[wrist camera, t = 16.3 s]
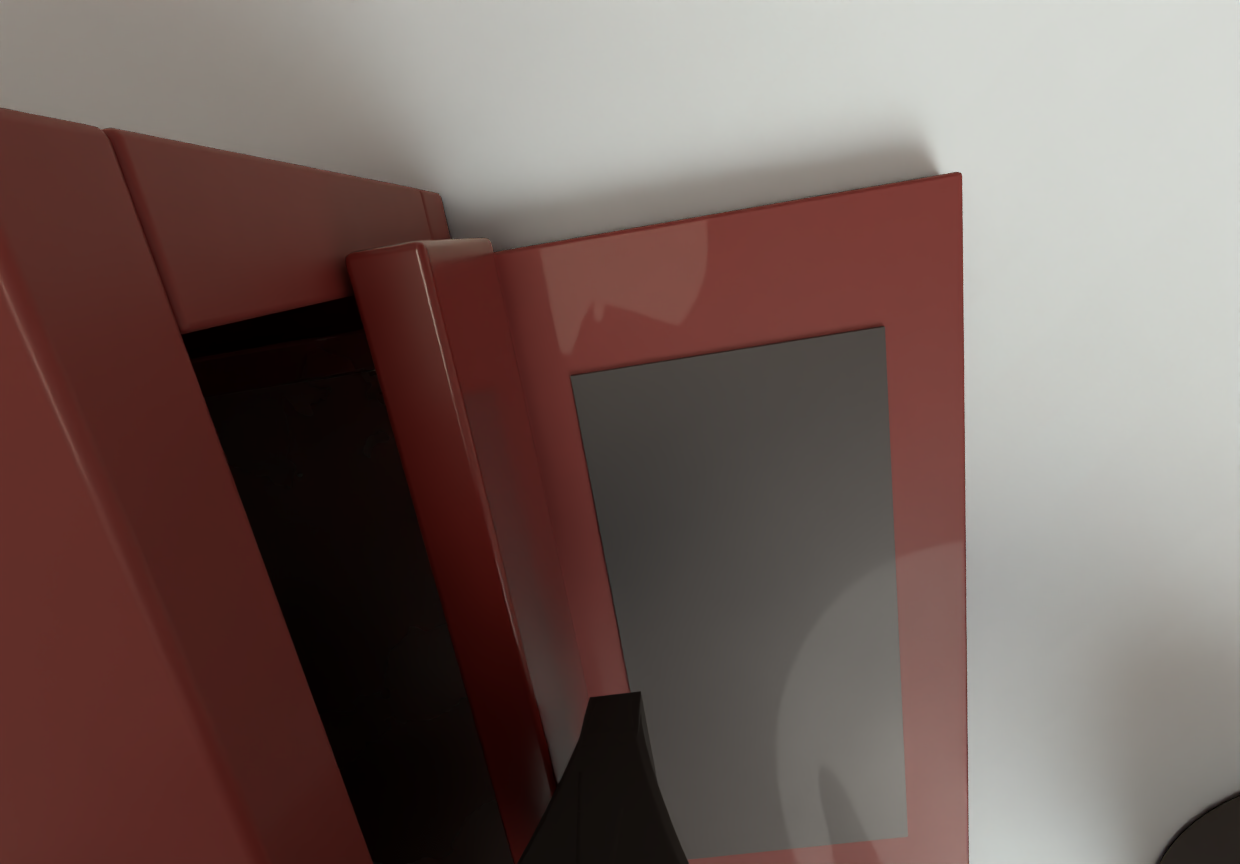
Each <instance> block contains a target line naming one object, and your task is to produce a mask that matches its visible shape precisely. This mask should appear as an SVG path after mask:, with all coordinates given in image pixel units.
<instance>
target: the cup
mask: <svg viewBox="0 0 1240 864" xmlns="http://www.w3.org/2000/svg"><path fill="white" fill-rule="evenodd" d="M1160 864H1240V796H1238V797H1236V798H1234V799H1232V800H1229V801H1227V802H1225V803H1224V804H1222V805H1220V806H1218V807H1216V808H1215V809H1213V810H1211V811H1210V812H1208V813H1207V814H1205V815H1204V816H1202V817H1201V818H1200V819H1198V820H1197V821H1196V822H1194V823H1193V824H1192V825H1191V826H1190V827H1189V828H1187V829H1186V830H1185V831H1184V832H1183V833H1182V834H1181V835H1180V836H1179V837H1178V838H1177V839H1176V840H1175V842H1174V843H1173V844H1172V845H1171V847H1170V848H1169V849H1168V851H1167V852H1166V853H1165V855H1164V857H1163V859H1162V860H1161V862H1160Z"/></svg>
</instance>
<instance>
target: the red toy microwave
mask: <svg viewBox="0 0 1240 864" xmlns="http://www.w3.org/2000/svg"><path fill="white" fill-rule="evenodd" d="M438 239H451V238H450V234H449V230H448V225H447V221H446V217H445V212H444V208H443V204H442V199H441V196H440V195H439V193H435V192H430V191H425V190H419V189H416V188H412V187H407V186H402V185H397V184H392V183H387V182H382V181H377V180H372V179H366V178H361V177H356V176H351V175H346V174H341V173H336V172H331V171H326V170H321V169H316V168H311V167H306V166H301V165H296V164H291V163H286V162H281V161H276V160H271V159H266V158H261V157H256V156H251V155H246V154H241V153H236V152H230V151H225V150H220V149H215V148H210V147H205V146H200V145H195V144H190V143H185V142H180V141H175V140H170V139H165V138H160V137H155V136H150V135H145V134H140V133H135V132H130V131H125V130H120V129H115V128H106V129H99V128H98V127H94V126H90V125H86V124H81V123H76V122H71V121H66V120H61V119H56V118H50V117H45V116H40V115H35V114H30V113H25V112H20V111H15V110H10V109H4V108H0V864H373V861H372V859H371V856H370V853H369V850H368V848H367V845H366V842H365V839H364V837H363V834H362V831H361V828H360V826H359V823H358V820H357V817H356V815H355V812H354V809H353V806H352V804H351V801H350V798H349V795H348V793H347V790H346V787H345V784H344V782H343V779H342V776H341V773H340V771H339V768H338V765H337V762H336V760H335V757H334V754H333V751H332V749H331V746H330V743H329V740H328V738H327V735H326V732H325V729H324V727H323V724H322V721H321V718H320V716H319V713H318V710H317V707H316V705H315V702H314V699H313V696H312V694H311V691H310V688H309V685H308V683H307V680H306V677H305V674H304V672H303V669H302V666H301V663H300V661H299V658H298V655H297V652H296V650H295V647H294V644H293V641H292V639H291V636H290V633H289V630H288V628H287V625H286V622H285V619H284V617H283V614H282V611H281V608H280V606H279V603H278V600H277V597H276V595H275V592H274V589H273V586H272V584H271V581H270V578H269V575H268V573H267V570H266V567H265V564H264V562H263V559H262V556H261V553H260V551H259V548H258V545H257V542H256V540H255V537H254V534H253V531H252V529H251V526H250V523H249V520H248V518H247V515H246V512H245V509H244V507H243V504H242V501H241V498H240V496H239V493H238V490H237V487H236V485H235V482H234V479H233V476H232V474H231V471H230V468H229V465H228V463H227V460H226V457H225V454H224V452H223V449H222V446H221V443H220V441H219V438H218V435H217V432H216V430H215V427H214V424H213V421H212V419H211V416H210V413H209V410H208V408H207V405H206V402H205V399H204V397H203V394H202V391H201V388H200V386H199V383H198V380H197V377H196V375H195V372H194V369H193V366H192V364H191V361H190V358H189V355H188V353H187V350H186V349H191V348H197V347H203V346H209V345H215V344H221V343H227V342H233V341H239V340H245V339H251V338H257V337H263V336H268V335H274V334H280V333H286V332H292V331H298V330H304V329H310V328H316V327H322V326H328V325H334V324H340V323H346V322H352V321H358V320H361V317H360V314H359V310H358V306H357V303H356V299H355V296H354V292H353V289H352V285H351V281H350V278H349V274H348V271H347V267H346V264H345V257H346V255H348V254H349V253H351V252H353V251H358V250H364V249H370V248H375V247H381V246H387V245H392V244H398V243H404V242H410V241H415V240H438ZM493 253H494V257H495V262H496V267H497V271H498V276H499V281H500V285H501V290H502V295H503V299H504V304H505V309H506V313H507V318H508V323H509V327H510V332H511V337H512V341H513V346H514V351H515V355H516V360H517V365H518V369H519V374H520V379H521V383H522V388H523V393H524V397H525V402H526V407H527V411H528V416H529V421H530V425H531V430H532V435H533V439H534V444H535V449H536V453H537V458H538V463H539V467H540V472H541V477H542V481H543V486H544V491H545V495H546V500H547V505H548V509H549V514H550V519H551V523H552V528H553V533H554V537H555V542H556V547H557V551H558V556H559V561H560V565H561V570H562V575H563V579H564V584H565V589H566V593H567V598H568V603H569V607H570V612H571V617H572V621H573V626H574V631H575V635H576V640H577V645H578V649H579V654H580V659H581V663H582V668H583V673H584V677H585V682H586V687H587V691H588V696H589V698H590V697H597V696H605V695H613V694H622V693H630V692H638V691H641V695H642V700H643V705H644V711H645V716H646V722H647V727H648V733H649V738H650V743H651V749H652V754H653V760H654V765H655V771H656V776H657V781H658V786H659V789H660V791H661V794H662V797H663V800H664V802H665V805H666V808H667V810H668V813H669V816H670V819H671V821H672V824H673V827H674V829H675V832H676V834H677V836H678V839H679V841H680V844H681V846H682V849H683V851H684V853H685V855H686V858H687V860H688V862H689V864H969V836H968V734H967V631H966V528H965V426H964V323H963V220H962V174H961V173H959V172H954V173H948V174H942V175H936V176H930V177H925V178H919V179H913V180H907V181H902V182H896V183H890V184H884V185H878V186H873V187H867V188H861V189H855V190H850V191H844V192H838V193H832V194H826V195H821V196H815V197H809V198H803V199H798V200H792V201H786V202H780V203H774V204H769V205H763V206H757V207H751V208H746V209H740V210H734V211H728V212H723V213H717V214H711V215H705V216H699V217H694V218H688V219H682V220H676V221H671V222H665V223H659V224H653V225H647V226H642V227H636V228H630V229H624V230H619V231H613V232H607V233H601V234H595V235H590V236H584V237H578V238H572V239H567V240H561V241H555V242H549V243H543V244H538V245H532V246H526V247H520V248H515V249H509V250H503V251H497V252H493Z"/></svg>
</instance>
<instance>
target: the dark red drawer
mask: <svg viewBox="0 0 1240 864" xmlns="http://www.w3.org/2000/svg"><path fill="white" fill-rule="evenodd" d="M345 264H346V267H347V271H348V274H349V278H350V281H351V285H352V289H353V292H354V296H355V299H356V303H357V306H358V310H359V314H360V317H361V320H358V321H352V322H346V323H340V324H334V325H328V326H322V327H316V328H310V329H304V330H298V331H292V332H286V333H280V334H274V335H268V336H263V337H257V338H251V339H245V340H239V341H233V342H227V343H221V344H215V345H209V346H203V347H197V348H191V349H186V350H187V353H188V355H189V358H190V361H191V364H192V366H193V369H194V372H195V375H196V377H197V380H198V383H199V386H200V388H201V391H202V394H203V397H204V399H205V402H206V405H207V408H208V410H209V413H210V416H211V419H212V421H213V424H214V427H215V430H216V432H217V435H218V438H219V441H220V443H221V446H222V449H223V452H224V454H225V457H226V460H227V463H228V465H229V468H230V471H231V474H232V476H233V479H234V482H235V485H236V487H237V490H238V493H239V496H240V498H241V501H242V504H243V507H244V509H245V512H246V515H247V518H248V520H249V523H250V526H251V529H252V531H253V534H254V537H255V540H256V542H257V545H258V548H259V551H260V553H261V556H262V559H263V562H264V564H265V567H266V570H267V573H268V575H269V578H270V581H271V584H272V586H273V589H274V592H275V595H276V597H277V600H278V603H279V606H280V608H281V611H282V614H283V617H284V619H285V622H286V625H287V628H288V630H289V633H290V636H291V639H292V641H293V644H294V647H295V650H296V652H297V655H298V658H299V661H300V663H301V666H302V669H303V672H304V674H305V677H306V680H307V683H308V685H309V688H310V691H311V694H312V696H313V699H314V702H315V705H316V707H317V710H318V713H319V716H320V718H321V721H322V724H323V727H324V729H325V732H326V735H327V738H328V740H329V743H330V746H331V749H332V751H333V754H334V757H335V760H336V762H337V765H338V768H339V771H340V773H341V776H342V779H343V782H344V784H345V787H346V790H347V793H348V795H349V798H350V801H351V804H352V806H353V809H354V812H355V815H356V817H357V820H358V823H359V826H360V828H361V831H362V834H363V837H364V839H365V842H366V845H367V848H368V850H369V853H370V856H371V859H372V861H373V864H517V863H518V861H519V859H520V857H521V855H522V854H523V852H524V850H525V848H526V847H527V845H528V843H529V841H530V839H531V838H532V836H533V834H534V832H535V830H536V828H537V826H538V824H539V822H540V820H541V818H542V816H543V814H544V812H545V810H546V808H547V806H548V804H549V802H550V800H551V798H552V796H553V794H554V792H555V790H556V788H557V786H558V784H559V782H560V780H561V778H562V776H563V773H564V771H565V769H566V767H567V764H568V762H569V760H570V758H571V756H572V753H573V751H574V749H575V746H576V744H577V742H578V739H579V737H580V734H581V729H582V725H583V720H584V716H585V712H586V709H587V705H588V702H589V696H588V691H587V687H586V682H585V677H584V673H583V668H582V663H581V659H580V654H579V649H578V645H577V640H576V635H575V631H574V626H573V621H572V617H571V612H570V607H569V603H568V598H567V593H566V589H565V584H564V579H563V575H562V570H561V565H560V561H559V556H558V551H557V547H556V542H555V537H554V533H553V528H552V523H551V519H550V514H549V509H548V505H547V500H546V495H545V491H544V486H543V481H542V477H541V472H540V467H539V463H538V458H537V453H536V449H535V444H534V439H533V435H532V430H531V425H530V421H529V416H528V411H527V407H526V402H525V397H524V393H523V388H522V383H521V379H520V374H519V369H518V365H517V360H516V355H515V351H514V346H513V341H512V337H511V332H510V327H509V323H508V318H507V313H506V309H505V304H504V299H503V295H502V290H501V285H500V281H499V276H498V271H497V267H496V262H495V257H494V253H493V248H492V243H491V242H490V240H489V239H487V238H464V239H438V240H415V241H410V242H404V243H398V244H392V245H387V246H381V247H375V248H370V249H364V250H358V251H353V252H351V253H349V254H348V255H346V257H345Z"/></svg>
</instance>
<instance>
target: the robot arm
mask: <svg viewBox="0 0 1240 864" xmlns="http://www.w3.org/2000/svg"><path fill="white" fill-rule="evenodd" d="M517 864H689V862H688V860H687V858H686V855H685V853H684V851H683V849H682V846H681V844H680V841H679V839H678V836H677V834H676V832H675V829H674V827H673V824H672V821H671V819H670V816H669V813H668V810H667V808H666V805H665V802H664V800H663V797H662V794H661V791H660V789H659V786H658V781H657V776H656V771H655V765H654V760H653V754H652V749H651V743H650V738H649V733H648V727H647V722H646V716H645V711H644V705H643V700H642V695H641V691H638V692H630V693H622V694H613V695H605V696H597V697H590V698H589V702H588V705H587V709H586V712H585V716H584V720H583V725H582V729H581V734H580V737H579V739H578V742H577V744H576V746H575V749H574V751H573V753H572V756H571V758H570V760H569V762H568V764H567V767H566V769H565V771H564V773H563V776H562V778H561V780H560V782H559V784H558V786H557V788H556V790H555V792H554V794H553V796H552V798H551V800H550V802H549V804H548V806H547V808H546V810H545V812H544V814H543V816H542V818H541V820H540V822H539V824H538V826H537V828H536V830H535V832H534V834H533V836H532V838H531V839H530V841H529V843H528V845H527V847H526V848H525V850H524V852H523V854H522V855H521V857H520V859H519V861H518V863H517Z"/></svg>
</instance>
